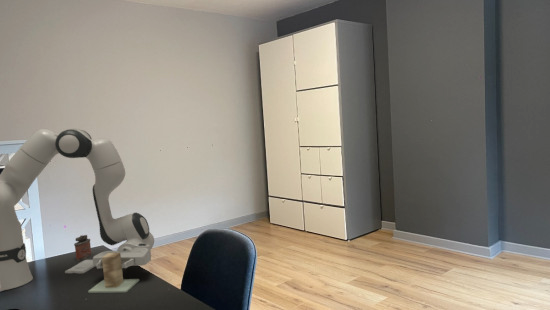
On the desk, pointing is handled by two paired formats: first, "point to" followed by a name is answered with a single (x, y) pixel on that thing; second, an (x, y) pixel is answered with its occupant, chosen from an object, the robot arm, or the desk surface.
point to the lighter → (82, 248)
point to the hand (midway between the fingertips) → (111, 266)
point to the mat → (123, 287)
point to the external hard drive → (81, 267)
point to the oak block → (112, 270)
